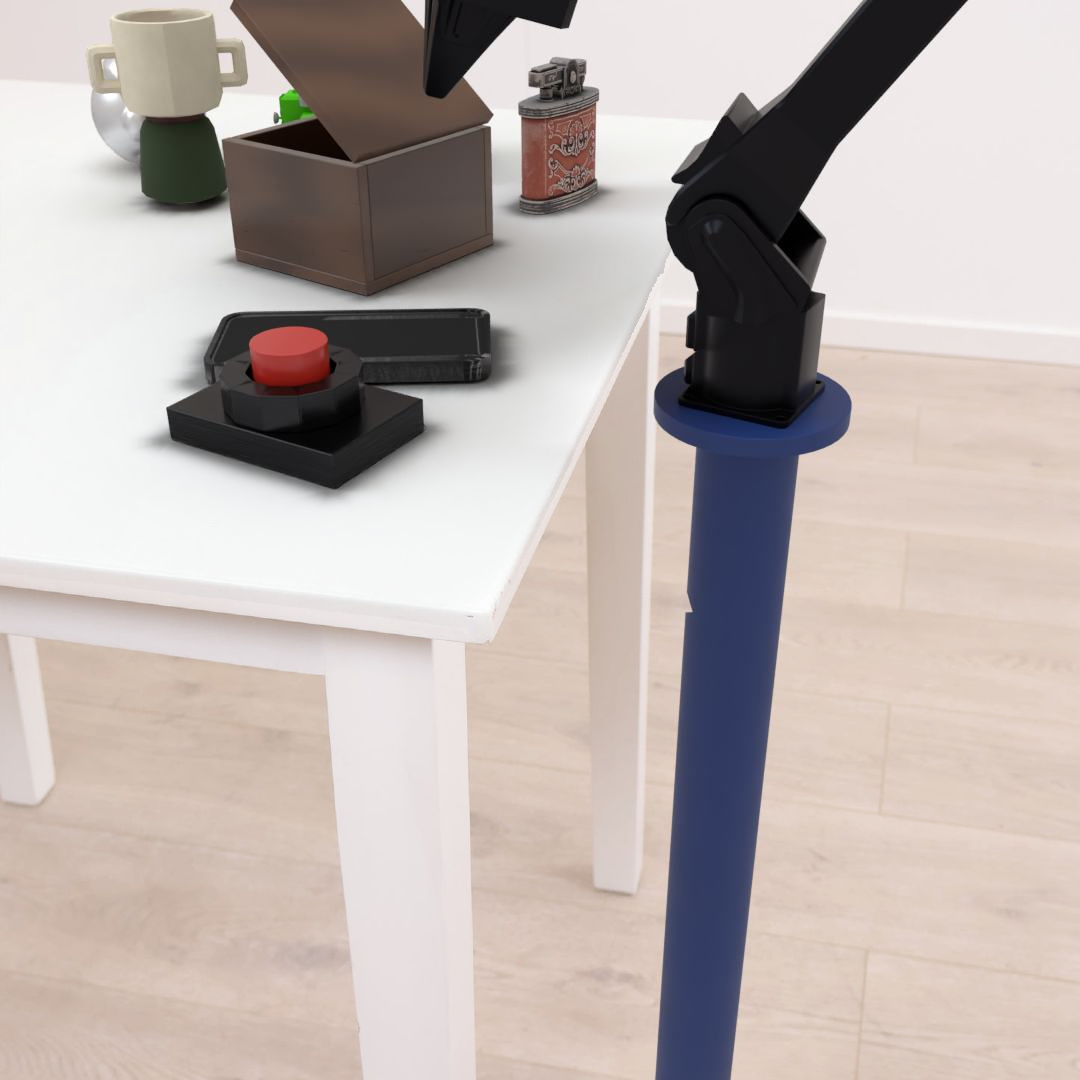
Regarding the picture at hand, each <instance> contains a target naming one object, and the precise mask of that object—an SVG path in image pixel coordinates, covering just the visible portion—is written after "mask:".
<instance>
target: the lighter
mask: <svg viewBox="0 0 1080 1080" xmlns="http://www.w3.org/2000/svg"><path fill="white" fill-rule="evenodd" d="M586 75H587V59H585V58H569V57H561V56H554V57H552V58H550V60H549V62H548V63H544V64H540V65H537V66H532V67H531V68H530V70H529V71H528V73H527V77H528V79H527V80H528V82H527V83H528V87H529V88H533V89H539V93H537V94H535V95H533V96H529V97H526V98H525V99H523V100H520V101H519V102H518V103H517V112H518V113H517V114H518V116H520V134H521V135H520V136H521V137H520V139H521V141H520V143H521V146H520V147H521V152H520V153H521V194H520V195H519V197H518V198H519V199H518V202H519V205H518V206H519V211H521V212H524V213H526V214H532V215H533V214H534V215H542V214H543V215H544V214H545V215H546V214H549V213H553V212H558V211H560V210H564V209H568V208H569V207H573V206H575V205H578V204H580V203H582V202H584V201H586V200H588V199H590V198H591V197H593V196H594V195H596V194H597V193H598V179H597V178H596V147H597V146H596V144H597V143H596V141H597V140H596V139H597V103H598V102H599V101H600V89H599V88H597V87H594V86H587V85H584V83H585V80H586Z"/></svg>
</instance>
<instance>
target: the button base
mask: <svg viewBox="0 0 1080 1080" xmlns="http://www.w3.org/2000/svg"><path fill="white" fill-rule="evenodd" d="M328 348H329V359H330V370H331V373H330V375H329V376H327V377H325V378H323V379H321V380H320V381H318V382H313V383H308V384H304V385H299V386H269V385H266V384H262V383H258V382H255V381H254V378H253V372H252V364H251V355H250V350H248V351H246V352H244V353H242V354H240V355H238V356H236V357H234V358H232V359H230V360H228V361H226V363H225V365H224V367H223V368H222V370H221V372H220V374H219V381H218V382H216V383H214V384H212V383H211V384H210V385H208V386H206V387H204V388H202V389H200V390H198V391H196V392H194V393H193V394H190V395H189V396H186V397H184V398H182V399H180V400H178V401H176V402H174V403H172V404H171V405H169V406H167V407H166V408H165V410H166V416H167V422H168V430H169V435H170V439H171V440H173V441H176V442H180V443H183V444H187V445H190V446H193V447H196V448H199V449H203V450H206V451H210V452H213V453H216V454H220V455H223V456H225V457H226V456H227V457H230V458H233V459H236V460H238V461H239V460H240V461H243V462H246V463H249V464H252V465H256V466H259V467H262V468H266V469H269V470H273V471H276V472H279V473H283V474H286V475H289V476H293V477H295V478H299V479H303V480H304V481H305V480H306V481H309V482H312V483H315V484H319V485H323V486H325V487H329V488H332V489H336V488H338V487H340V486H341V485H343V484H344V483H346V482H348V481H350V480H351V479H352V478H354V477H355V476H356V475H358V474H360V473H361V472H363V471H364V470H366V469H368V468H369V467H370V466H372V465H373V464H375V463H377V462H378V461H379V460H381V459H382V458H384V457H386V456H387V455H388V454H390V453H392V452H394V451H395V450H396V449H398V448H399V447H401V446H402V445H404V444H405V443H407V442H409V441H410V440H412V439H413V438H415V437H416V436H417V435H419V434H421V433H423V431H425V417H424V416H425V415H424V414H425V413H424V399H423V398H422V397H421V398H420V397H416V396H412V395H408V394H405V393H400V392H397V391H393V390H389V389H385V388H381V387H377V386H373V385H369V384H367V383H364V372H363V361H362V360H361V359H360V358H359V357H357V356H356V355H355V354H354V353H353V352H352V351H351V350H349V349H347V348H342V347H338V346H334V345H330V344H328Z"/></svg>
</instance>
